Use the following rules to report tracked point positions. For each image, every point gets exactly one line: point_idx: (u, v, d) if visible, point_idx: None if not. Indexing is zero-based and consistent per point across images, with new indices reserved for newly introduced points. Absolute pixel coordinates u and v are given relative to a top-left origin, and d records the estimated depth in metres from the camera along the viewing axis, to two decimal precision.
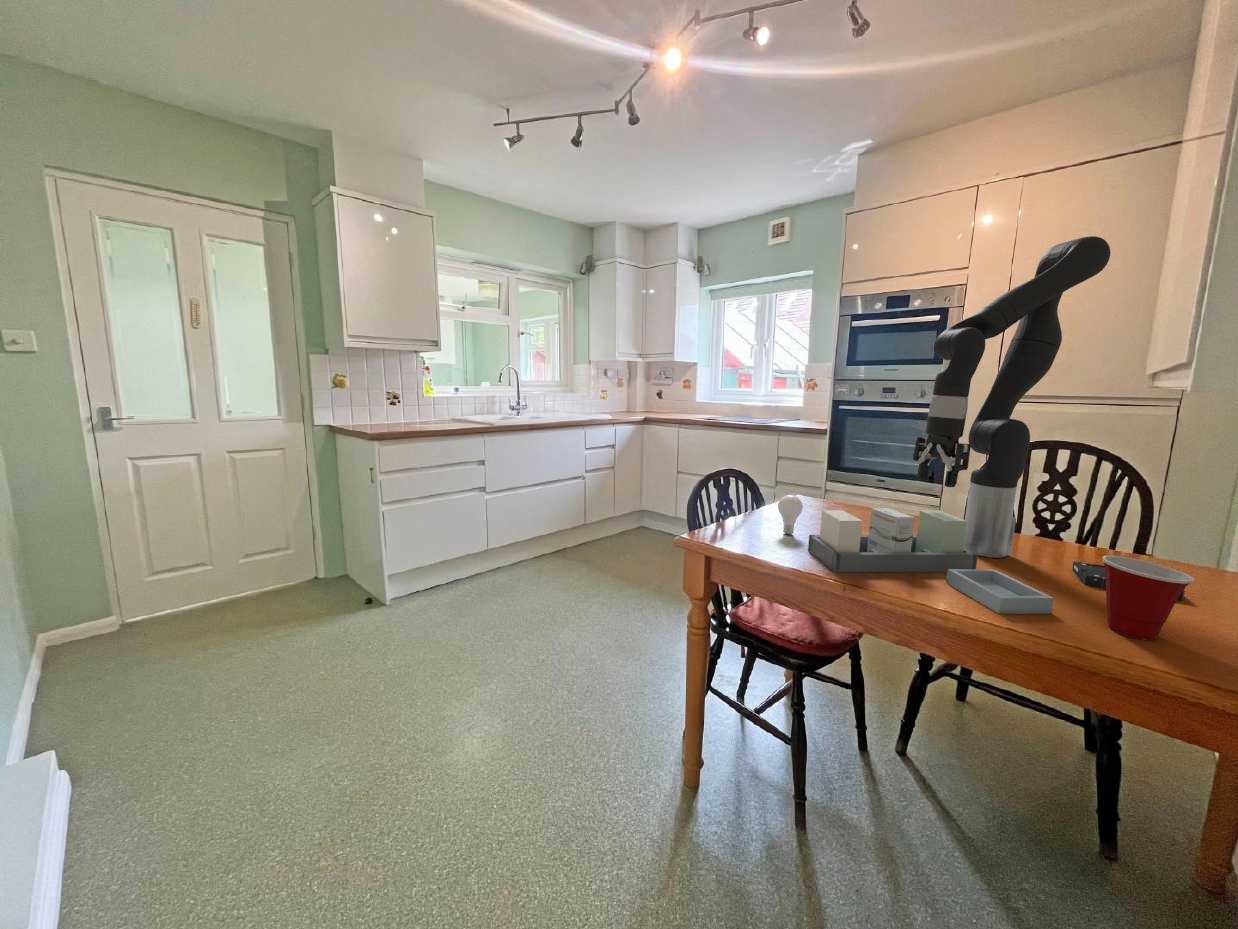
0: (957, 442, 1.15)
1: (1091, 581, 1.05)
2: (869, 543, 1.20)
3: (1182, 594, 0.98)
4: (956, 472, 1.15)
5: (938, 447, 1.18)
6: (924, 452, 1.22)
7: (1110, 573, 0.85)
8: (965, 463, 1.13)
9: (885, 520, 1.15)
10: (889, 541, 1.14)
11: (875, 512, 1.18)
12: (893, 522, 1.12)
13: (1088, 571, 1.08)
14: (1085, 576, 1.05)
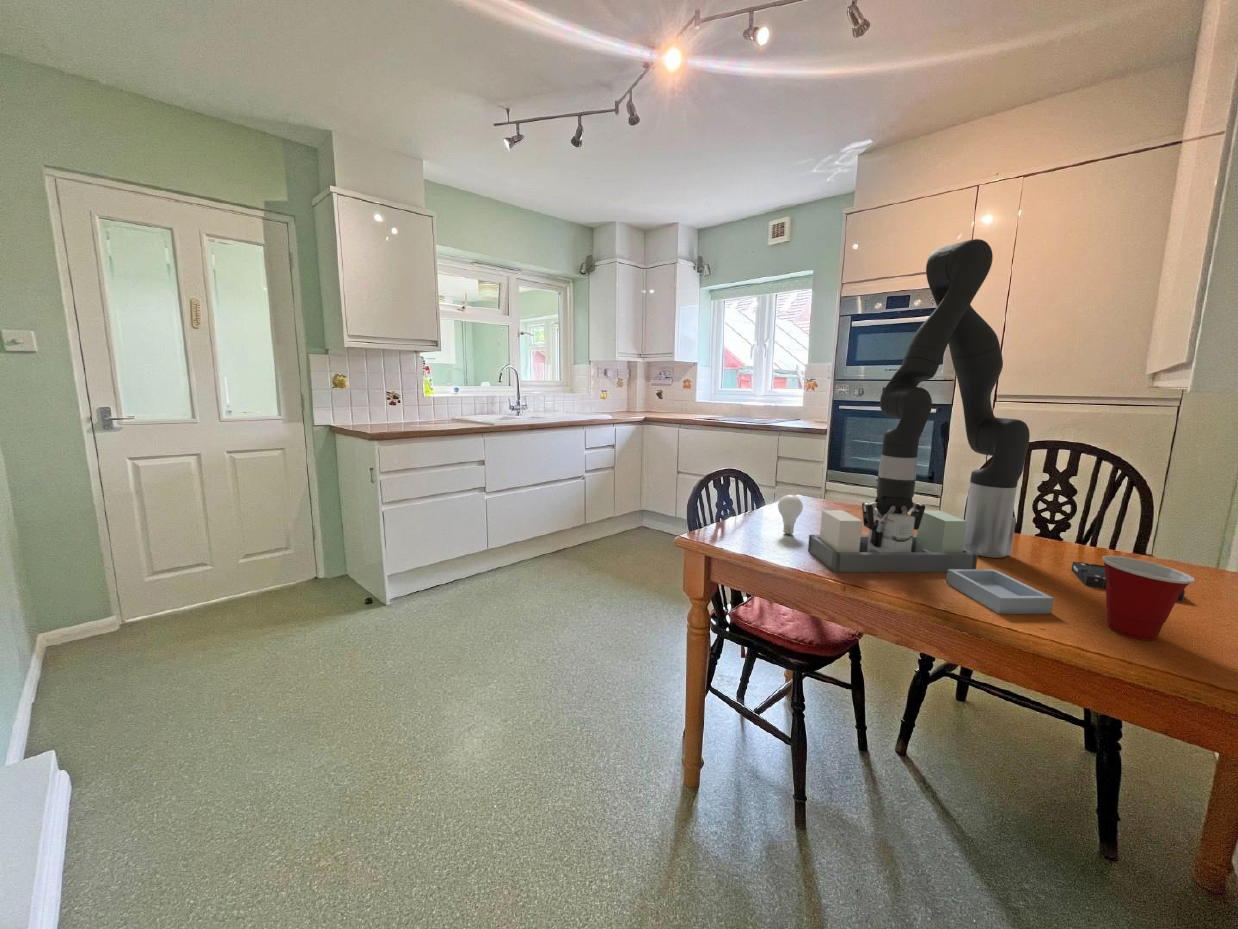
0: None
1: (1092, 581, 1.05)
2: (869, 543, 1.20)
3: (1182, 594, 0.98)
4: None
5: (903, 509, 1.14)
6: (885, 518, 1.14)
7: (1110, 573, 0.85)
8: None
9: None
10: (889, 541, 1.14)
11: (875, 512, 1.18)
12: (893, 522, 1.12)
13: (1088, 571, 1.07)
14: (1086, 576, 1.05)
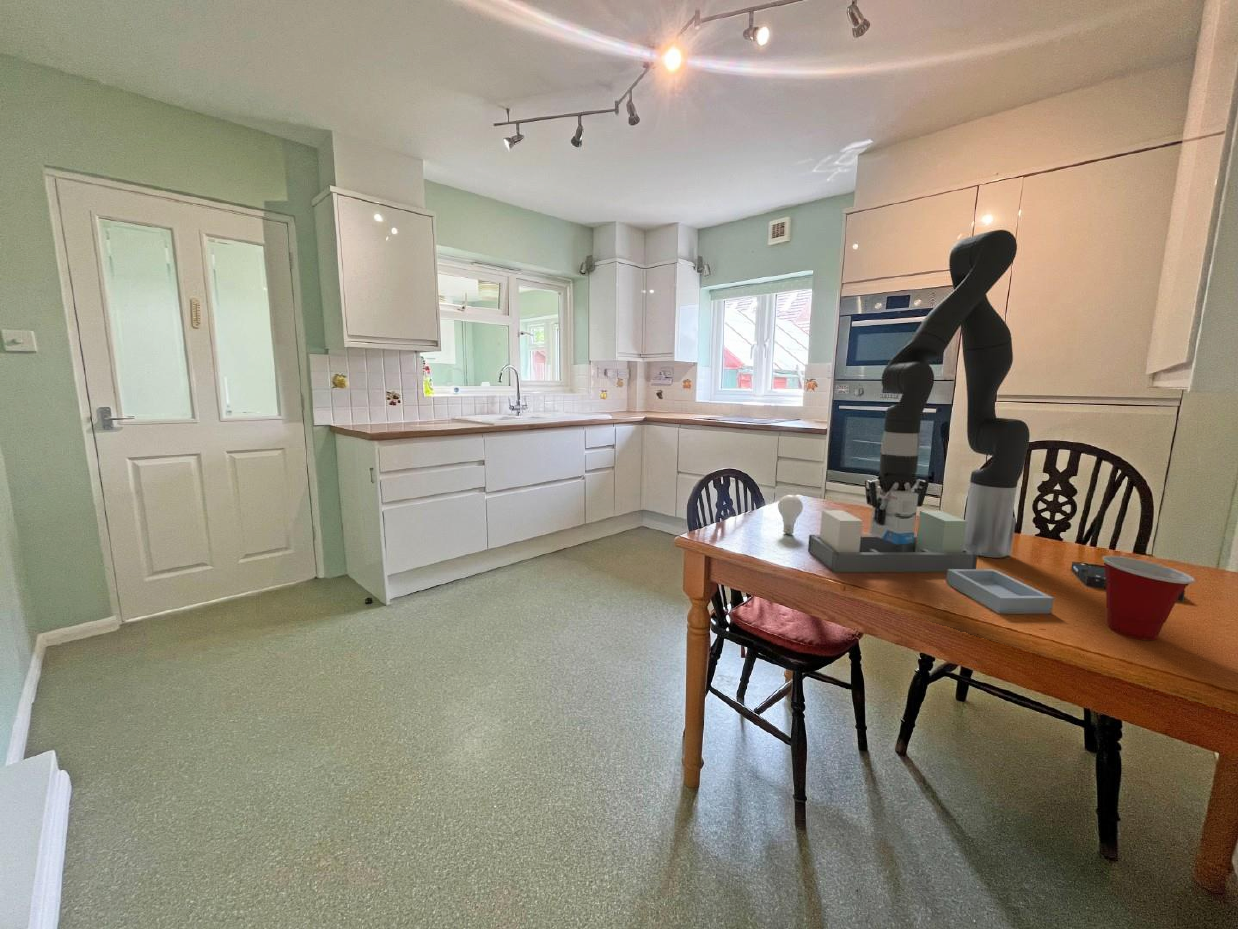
0: None
1: (1092, 581, 1.04)
2: (872, 521, 1.19)
3: (1182, 594, 0.98)
4: None
5: (907, 485, 1.13)
6: (889, 495, 1.13)
7: (1110, 573, 0.85)
8: None
9: None
10: (893, 518, 1.13)
11: (878, 490, 1.17)
12: (896, 498, 1.12)
13: (1088, 571, 1.07)
14: (1087, 577, 1.05)
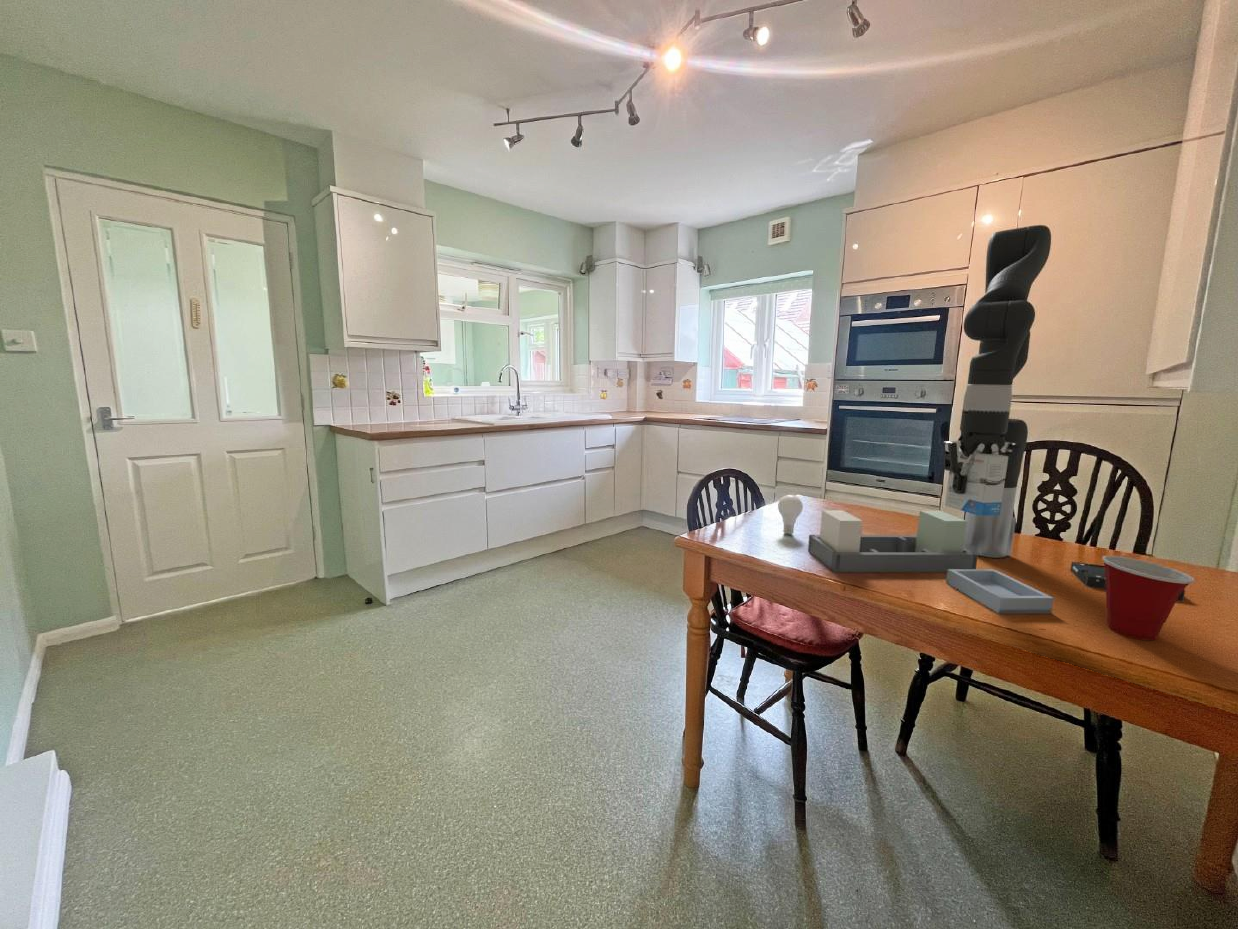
0: None
1: (1093, 582, 1.04)
2: (949, 491, 1.03)
3: (1183, 593, 0.98)
4: None
5: (994, 447, 0.97)
6: (972, 458, 0.97)
7: (1110, 573, 0.85)
8: None
9: None
10: (977, 485, 0.97)
11: (957, 453, 1.01)
12: (982, 461, 0.96)
13: (1089, 572, 1.07)
14: (1087, 577, 1.05)
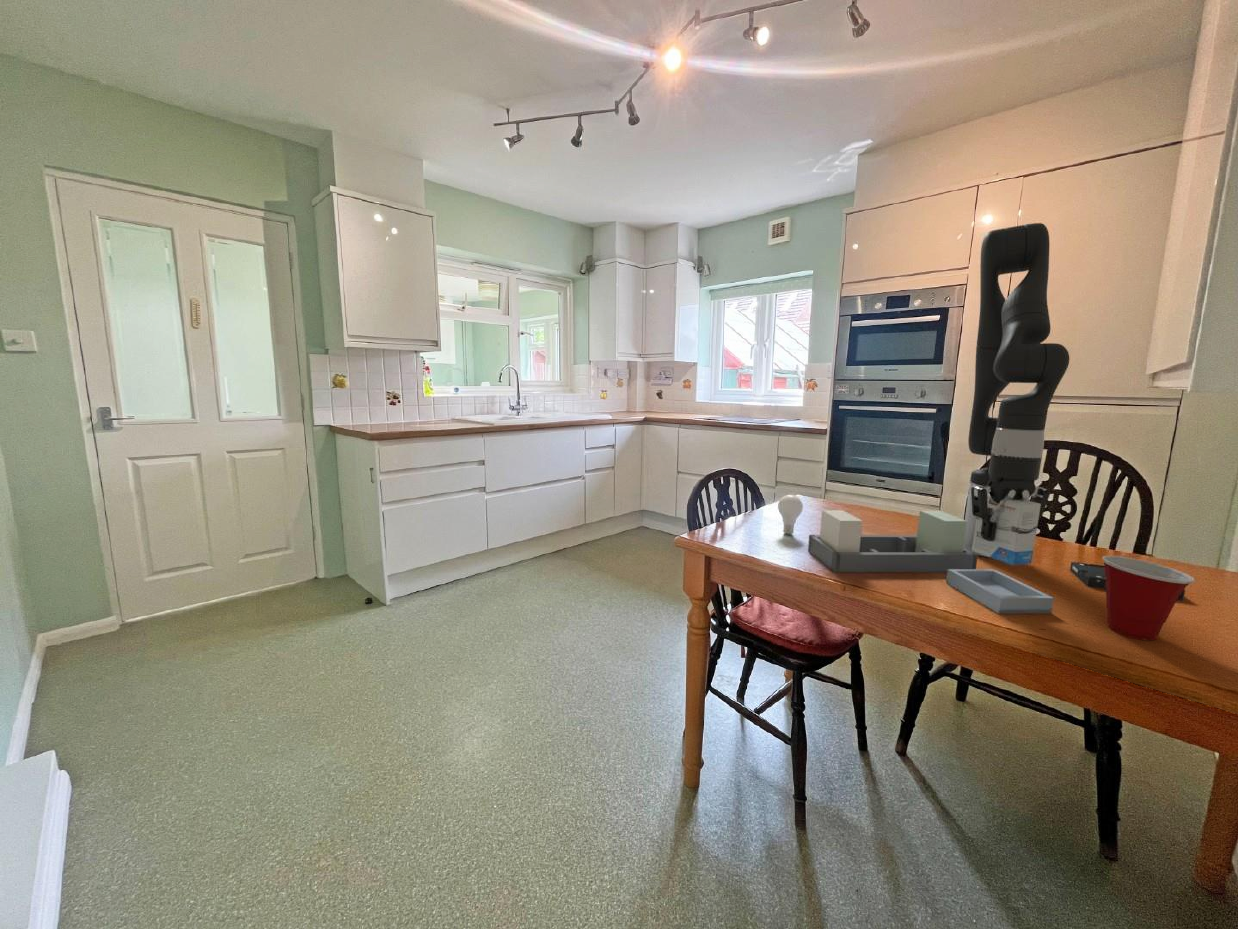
0: None
1: (1094, 582, 1.04)
2: (976, 536, 0.99)
3: (1183, 593, 0.98)
4: None
5: (1025, 494, 0.93)
6: (1003, 505, 0.94)
7: (1110, 573, 0.85)
8: None
9: None
10: (1008, 533, 0.93)
11: None
12: (1014, 509, 0.92)
13: (1089, 572, 1.07)
14: (1088, 577, 1.05)
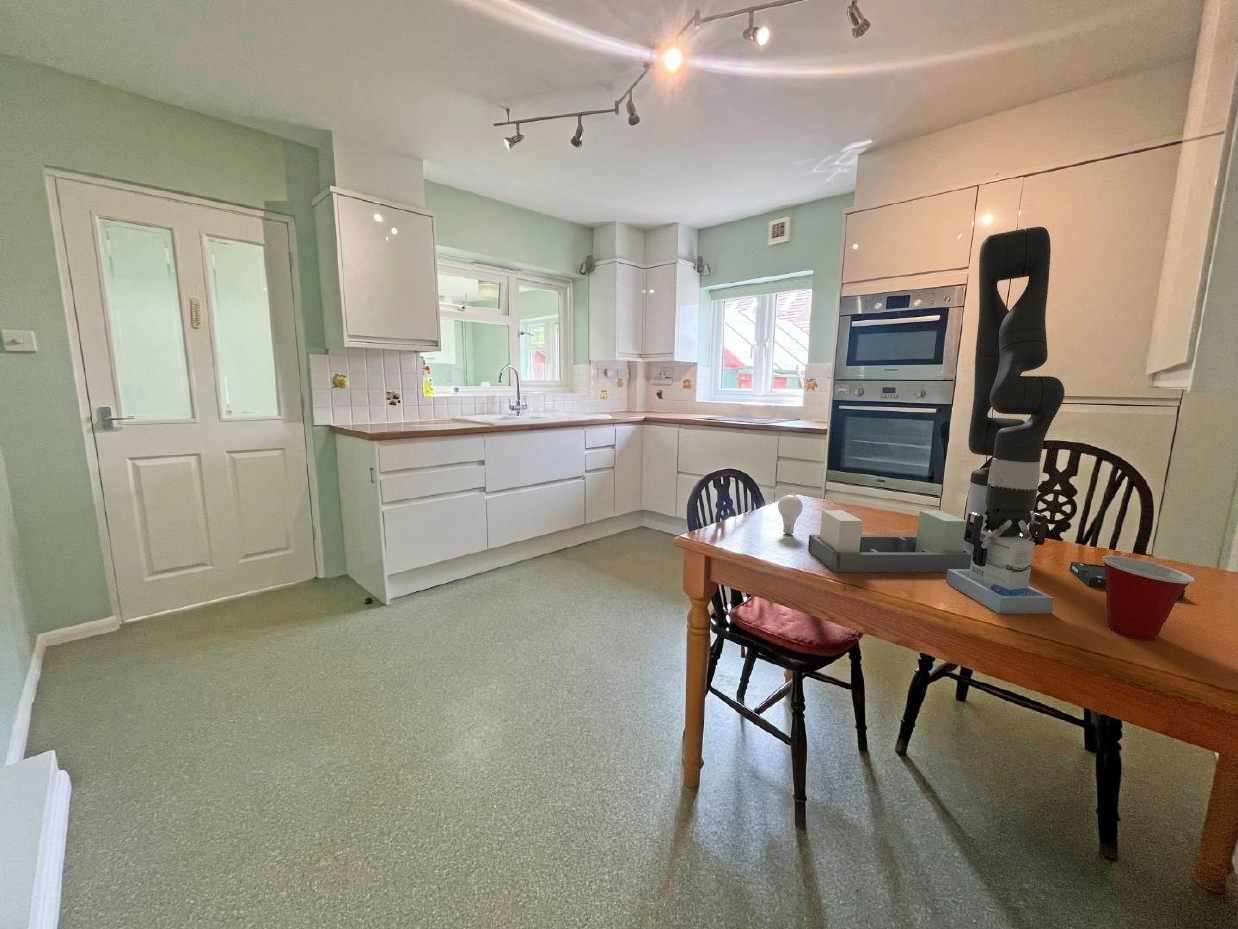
0: None
1: (1094, 582, 1.04)
2: (972, 571, 1.01)
3: (1183, 593, 0.98)
4: None
5: (1021, 524, 0.94)
6: (997, 533, 0.94)
7: (1110, 573, 0.85)
8: (1034, 534, 0.97)
9: (997, 545, 0.95)
10: (1002, 570, 0.94)
11: None
12: (1008, 548, 0.93)
13: (1089, 572, 1.07)
14: (1089, 578, 1.04)
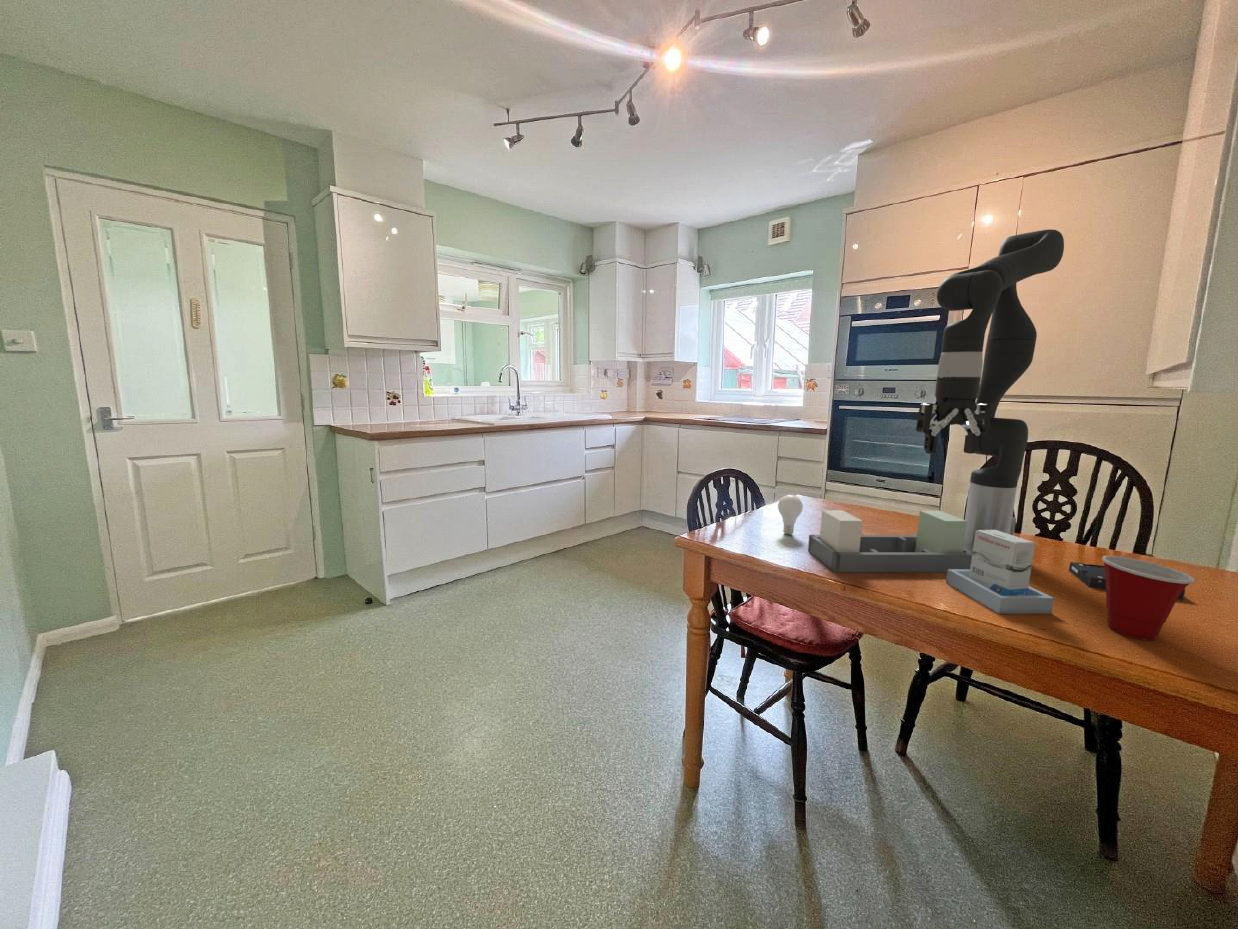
0: None
1: (1095, 583, 1.04)
2: (972, 571, 1.01)
3: (1183, 593, 0.99)
4: None
5: (967, 412, 1.02)
6: (945, 421, 1.03)
7: (1110, 573, 0.85)
8: (980, 424, 1.06)
9: (997, 545, 0.95)
10: (1003, 570, 0.94)
11: (981, 535, 0.99)
12: (1009, 548, 0.93)
13: (1089, 572, 1.07)
14: (1090, 578, 1.04)
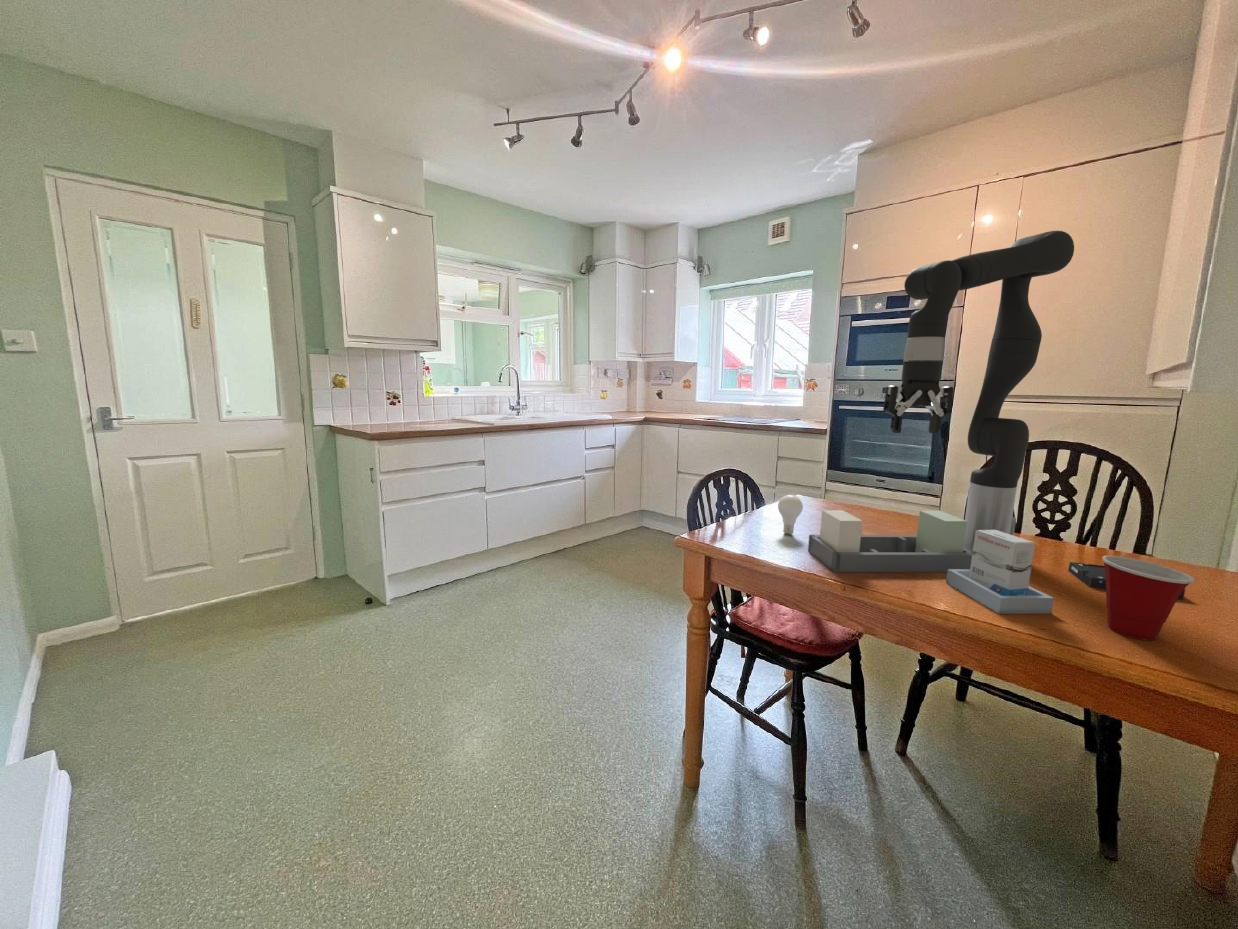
0: None
1: (1096, 583, 1.04)
2: (972, 571, 1.01)
3: (1183, 592, 0.99)
4: None
5: (930, 393, 1.09)
6: (909, 401, 1.10)
7: (1110, 573, 0.85)
8: (944, 406, 1.13)
9: (997, 545, 0.95)
10: (1003, 570, 0.94)
11: (981, 535, 0.99)
12: (1009, 548, 0.93)
13: (1090, 572, 1.07)
14: (1090, 578, 1.04)
